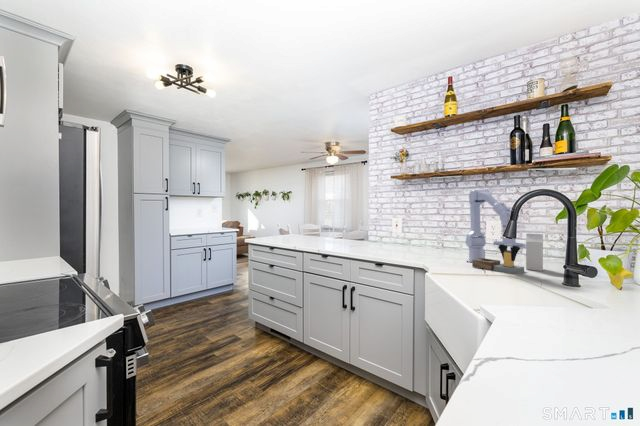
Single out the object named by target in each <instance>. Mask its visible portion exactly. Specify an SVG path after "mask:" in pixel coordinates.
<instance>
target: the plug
mask: <svg viewBox="0 0 640 426" xmlns="http://www.w3.org/2000/svg"><path fill="white" fill-rule="evenodd" d="M503 264H504V266H508V267H513V266H514V265H515V261H512V260H511V249H510V250H509V249H507V250H505V251H504V260H503Z"/></svg>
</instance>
